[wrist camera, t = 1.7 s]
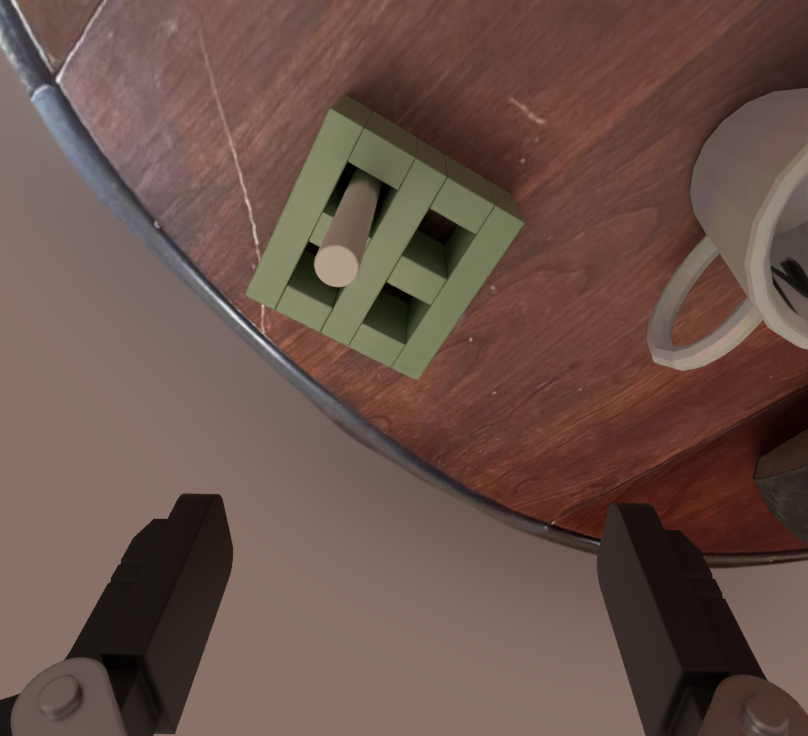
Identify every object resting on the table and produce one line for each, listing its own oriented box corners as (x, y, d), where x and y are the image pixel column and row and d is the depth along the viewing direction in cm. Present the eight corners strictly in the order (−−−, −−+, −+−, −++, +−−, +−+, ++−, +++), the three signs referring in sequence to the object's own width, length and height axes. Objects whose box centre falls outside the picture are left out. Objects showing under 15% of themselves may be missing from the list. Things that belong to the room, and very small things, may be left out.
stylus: (349, 180, 31) (306, 274, 20) (362, 154, 30) (325, 236, 19) (375, 195, 31) (346, 295, 20) (388, 169, 30) (367, 259, 19)
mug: (921, 156, 29) (1125, 215, 21) (674, 355, 36) (753, 464, 27) (800, 0, 26) (983, -7, 18) (553, 249, 32) (598, 333, 24)
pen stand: (267, 259, 33) (243, 295, 29) (344, 93, 29) (329, 107, 24) (418, 337, 35) (417, 381, 31) (511, 194, 31) (525, 222, 27)
